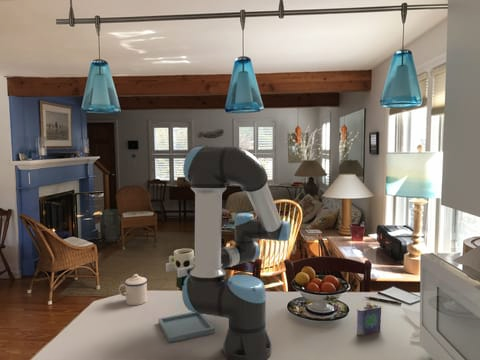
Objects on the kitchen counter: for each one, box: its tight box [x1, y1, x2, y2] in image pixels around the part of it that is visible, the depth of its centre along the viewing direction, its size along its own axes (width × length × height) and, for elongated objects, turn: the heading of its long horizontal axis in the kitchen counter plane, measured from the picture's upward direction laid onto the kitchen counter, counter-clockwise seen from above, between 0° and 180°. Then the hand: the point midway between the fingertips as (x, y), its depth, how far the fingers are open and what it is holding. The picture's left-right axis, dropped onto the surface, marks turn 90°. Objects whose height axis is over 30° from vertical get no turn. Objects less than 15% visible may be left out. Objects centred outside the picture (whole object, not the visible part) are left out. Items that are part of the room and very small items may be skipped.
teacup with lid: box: [118, 273, 148, 306], centre depth 164 cm, size 12×9×12 cm
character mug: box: [168, 248, 195, 289], centre depth 139 cm, size 11×7×13 cm, turn 85°
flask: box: [356, 301, 382, 336], centre depth 135 cm, size 9×3×11 cm, turn 109°
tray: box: [158, 311, 216, 344], centre depth 140 cm, size 16×16×2 cm
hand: (172, 270), depth 136 cm, fingers closed on character mug, 8 cm apart
